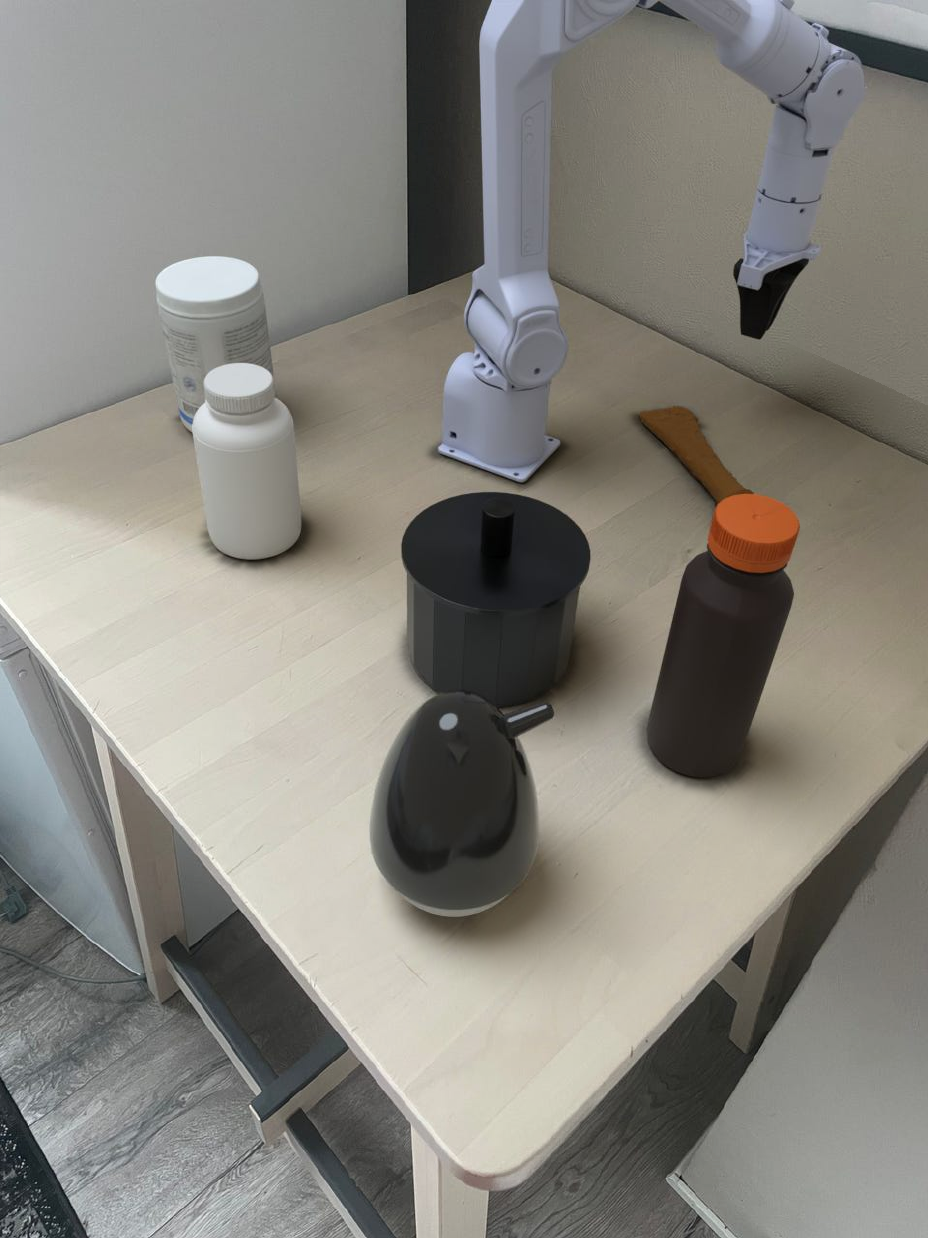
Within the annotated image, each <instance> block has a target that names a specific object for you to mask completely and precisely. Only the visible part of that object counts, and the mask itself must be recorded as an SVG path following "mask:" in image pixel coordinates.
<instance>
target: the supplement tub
mask: <svg viewBox="0 0 928 1238" xmlns="http://www.w3.org/2000/svg"><path fill="white" fill-rule="evenodd" d="M155 290H156V297H155V298H156V302H157V309H158V313H159V319H160V324H161V329H162V334H163V339H164V343H165V349H166V353H167V359H168V364H169V368H170V373H171V378H172V384H173V388H174V389H173V390H174V393H175V400H176V404H177V408H178V412H179V417H180V420H181V422H182V425H184V427H185V428H186V429H187V430H188V431H189V432H191V433H192V434H193V432H192V424H193V419H194V416H195V414H196V412H197V410H198V409H199V408H200V407H201V406H202V405H203V404H204V403H205V399H206V398H205V392H204V379H205V377H206V375H207V374H208V373H209V372H210V371H212V370H213V369H215V368H217V367H220V366H223V365H226V364H232V363H249V364H254V365H258V366H261V367H263V368H265V369H266V370H268V371H269V372H270V373H271V375H272V376H273V379H274V389H275V396H274V397H275V398H277V389H276V381H275V373H274V368H273V367H274V366H273V365H274V364H273V357H272V349H271V342H270V333H269V326H268V325H269V324H268V318H267V311H266V310H267V309H266V303H265V294H264V291H263V290H264V289H263V286H262V284H261V277H260V273H259V271H258V269H257V268H256V267H255V266H254V265H252V264H250V263H249V262H247V261H246V260H242V259H239V258H235V257H231V256H219V255H218V256H217V255H210V256H209V255H208V256H207V255H206V256H198V257H192V258H188V259H183V260H180V261H178V262H175V263H172V264H170V265H169V266H167V267H165V268H164V269H162V271H160V272H159V274H158V275H156V278H155Z"/></svg>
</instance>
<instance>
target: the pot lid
mask: <svg viewBox="0 0 928 1238" xmlns="http://www.w3.org/2000/svg"><path fill="white" fill-rule="evenodd" d="M400 551H401V552H400V554H401V561H402V564H403V568H404V571H405V572H406V575H407V574H408V576H409V577H410V579H411V580H412V581H413V582H414V583H415V585H416V586H417V587H418V588H419V589H421V590H422V591H423V592H424V593H425V594H427V595H428V596H430V597H431V598H433V599H435V600H436V601H438V602H440V603H442V604H444V605H446V606H449V607H452V608H454V609H457V610H460V611H464V612H468V613H473V614H479V615H486V616H517V615H525V614H530V613H535V612H538V611H541V610H545V609H547V608H550V607H552V606H554V605H557V604H559V603H560V602H562V601H564V600H565V599H567V598H568V597H569V596H571V595H572V594H573V593H574V592H575V591H576V590H577V589H578V588H579V587H580V588H581V586H582V585H583V583H584V582H585V580H586V578H587V576H588V573H589V571H590V565H591V559H592V558H591V548H590V543H589V541H588V538H587V536H586V534H585V533H584V531H583V530H582V528H581V527H580V526H579V524H577V522H575V520H573V519H572V518H571V517H570V516H569V515H568V514H566V513H564V512H563V511H562V510H560V509H559V508H556V507H555V506H553V505H551V504H549V503H547V502H545V501H541V500H539V499H537V498H533V497H530V496H526V495H523V494H518V493H510V492H502V491H479V492H478V491H477V492H469V493H463V494H459V495H454V496H450V497H448V498H445V499H443V500H440V501H437V502H435V503H433V504H431V505H429V506H428V507H427V508H425V509H423V510H422V511H421V512H420V513H418V514H417V515H416V516H415V517H414V518H413V519H412V520H411V521H410V523H408V525H407V527H406V529H405V531H404V532H403V535H402V539H401V544H400Z"/></svg>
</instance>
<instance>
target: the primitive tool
mask: <svg viewBox="0 0 928 1238" xmlns="http://www.w3.org/2000/svg"><path fill="white" fill-rule="evenodd" d="M638 418H639V419H640V422H641V423H642V424H643V425H644V427H646V428H647V429H648V430H649V431H650V432H651V433H652V434H653V435H654V436H656V438H658V439H659V440H660V441H661V442H663V443H664V445H665V446H666V447H667V448H668V449H669V450H670V451H671V452H672V453H674V455H675V456H676V457H677V458H678V459H679V461H680V462H681V463H682V464H683V465H684V466H685V467H686V468H687V470H688V471H689V472H690V473H691V474H692V476H694V477H695V478H696V479H697V480H698V481H699V482H700V483H701V484H702V485H703V486H704V488H705V489H706V490H707V491H708V493H709V494H710V495H711V497H712V498H713V499H714V500H715V502H716V503H717V504H718V503H720V501H721V502H722V500H724V499H726V498H728V497H729V496H730V497H731V496H732V495H738V494H755V493H754V491H752V489H749V488H746V487H744V486H743V484H740V483H739V482H738V480H737V479H736V478H735V477H734V476H733V473H732V472H730V471H729V470H728V469H726V467H725V466H724V464H723V463H722V460H721V459H720V457H719V456H718V455H717V454H716V453H715V451H714V450H713V448H712V446H711V445H710V444H709V443H708V441H707V439H706V438H705V436H704V434H703V432H702V430H701V428H700V425H698V421H699V418H698V417H697V415H695V414H694V413H693V412H692V411H691V410H690V409H689V408H686V407H684V406H683V405H681V406H680V405H676V406H675V405H673V406H672V407H667V408H663V409H653V410H652V409H651V410H646V411H640V412H639V413H638Z"/></svg>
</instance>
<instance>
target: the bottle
mask: <svg viewBox="0 0 928 1238" xmlns="http://www.w3.org/2000/svg"><path fill="white" fill-rule="evenodd" d="M800 528H801V524H800V519H799V517H797V515H796V512H794V510H792V508H790V507H789V506H787V505H786V504H784V503H783V502H781V501H779V500H778V499H775V498H772V497H769V496H766V495H762V494H757V493H754V494H738V495H732V496H731V497H730V496H729V497H728V498H726V499H724V500H722V502H721V501H720V503H717V504H716V506H715V508H714V512H713V516H712V520H711V524H710V528H709V532H708V536H707V544H706V549H707V550H706V551H703V552H702V553H699V554H697V555H696V556H694V558H693V559H691V560H690V561H689V562H688V563H687V564H686V566H685V569H684V571H683V574H682V576H681V580H680V584H679V589H678V593H677V597H676V602H675V606H674V609H673V614H672V618H671V624H670V627H669V631H668V635H667V640H666V644H665V649H664V653H663V657H662V660H661V665H660V669H659V675H658V678H657V683H656V688H655V691H654V695H653V700H652V704H651V708H650V711H649V712H650V713H649V717H648V721H647V725H646V728H645V729H646V739H647V740H646V741H647V744H648V746H649V748H650V750H651V752H652V754H653V755H654V756H655V757H656V758H657V760H659V761H660V762H661V763H662V764H663V765H665V766H666V767H668V768H669V769H671V770H673V771H674V772H677V773H680V774H682V775H686V776H689V777H695V778H710V777H715V776H720V775H722V774H724V773H726V772H728V771H729V770H732V769H733V768H734V766H735V765H736V764H737V762H738V761H739V760H740V759H741V756H742V753H743V750H744V748H745V745H746V742H747V740H748V739H747V738H748V736H749V733H750V731H751V727H752V724H753V722H754V718H755V715H756V712H757V710H758V706H759V703H760V700H761V698H762V694H763V692H764V689H765V686H766V682H767V679H768V677H769V674H770V671H771V668H772V665H773V662H774V659H775V656H776V654H777V650H778V647H779V645H780V641H781V638H782V635H783V633H784V630H785V627H786V624H787V621H788V618H789V615H790V612H791V609H792V605H793V601H794V598H795V591H794V587H793V584H792V580H791V578H790V577H789V575H788V574H787V573H786V572H785V569H786V568H787V567H788V563H789V562H790V560H791V557H792V555H793V551H794V548H795V545H796V542H797V538H798V536H799V533H800Z"/></svg>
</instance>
